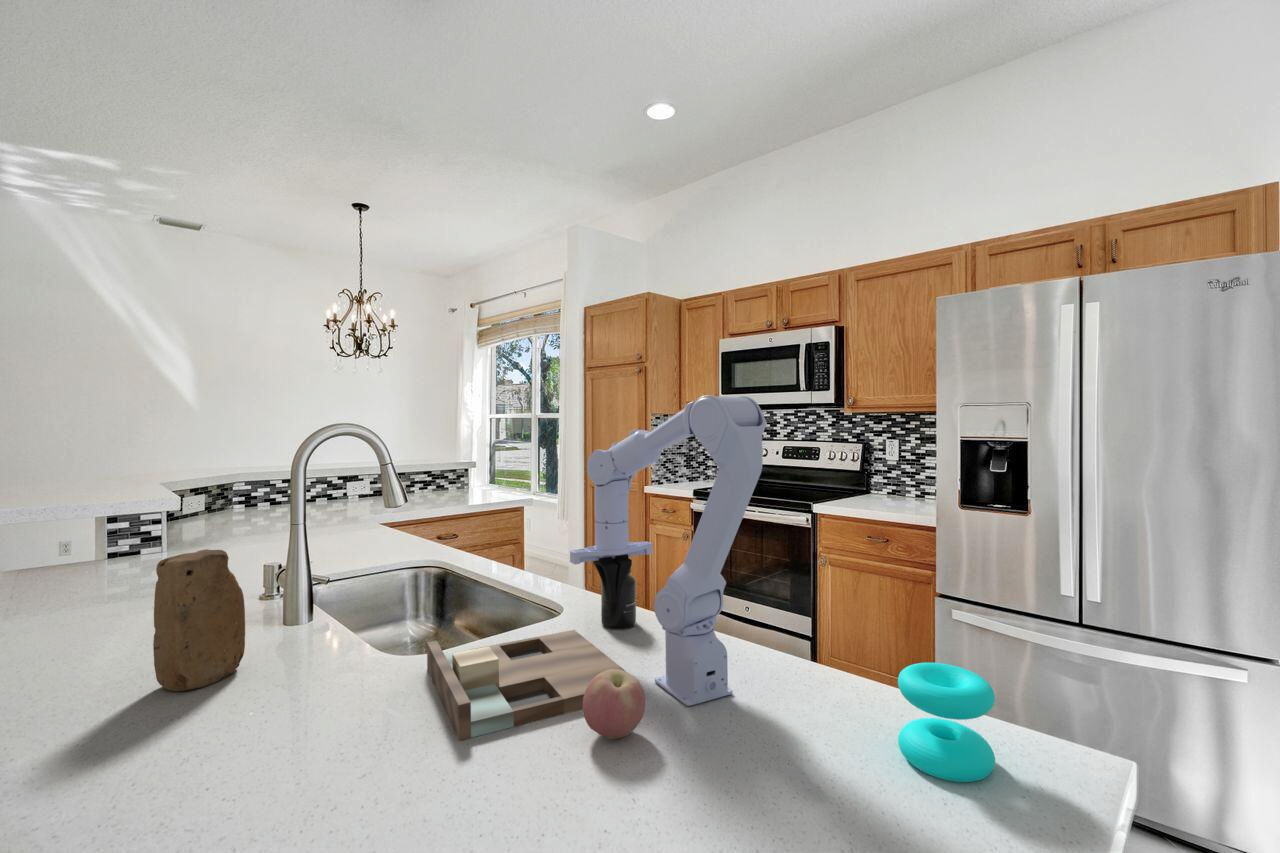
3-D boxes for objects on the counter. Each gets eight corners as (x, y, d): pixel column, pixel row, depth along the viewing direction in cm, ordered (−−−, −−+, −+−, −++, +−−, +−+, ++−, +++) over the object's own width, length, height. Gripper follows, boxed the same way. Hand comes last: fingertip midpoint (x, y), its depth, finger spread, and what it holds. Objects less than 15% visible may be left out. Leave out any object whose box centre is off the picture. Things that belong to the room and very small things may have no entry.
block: (176, 698, 87) (173, 562, 87) (149, 689, 90) (146, 557, 90) (252, 670, 97) (250, 547, 97) (225, 662, 100) (223, 543, 100)
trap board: (638, 694, 87) (637, 663, 87) (459, 740, 75) (458, 705, 75) (574, 640, 108) (574, 616, 108) (427, 669, 96) (426, 642, 96)
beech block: (499, 682, 87) (498, 658, 87) (460, 691, 84) (460, 666, 84) (489, 669, 92) (489, 646, 91) (452, 676, 89) (452, 653, 89)
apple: (589, 757, 71) (588, 690, 71) (578, 725, 78) (577, 664, 78) (652, 746, 73) (652, 681, 73) (636, 717, 80) (636, 657, 80)
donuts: (1005, 675, 69) (978, 704, 62) (1006, 761, 69) (979, 800, 62) (916, 652, 76) (883, 676, 69) (917, 730, 76) (884, 761, 69)
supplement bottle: (635, 630, 114) (635, 567, 114) (600, 630, 114) (599, 567, 114) (636, 618, 121) (636, 558, 120) (603, 618, 121) (602, 559, 121)
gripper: (638, 514, 108) (639, 589, 108) (562, 521, 101) (563, 601, 101) (658, 519, 102) (658, 599, 102) (578, 527, 95) (579, 612, 95)
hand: (612, 601), depth 101 cm, fingers closed
